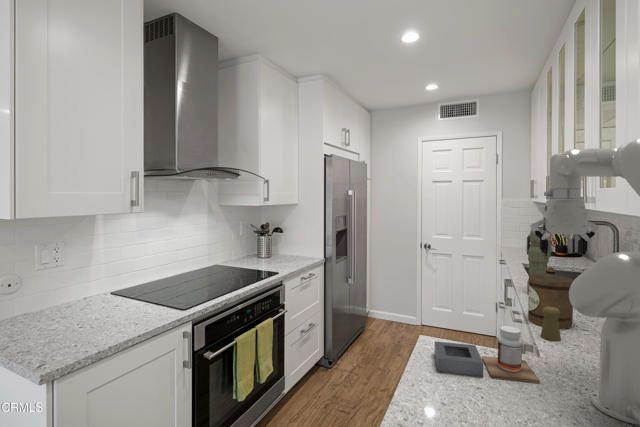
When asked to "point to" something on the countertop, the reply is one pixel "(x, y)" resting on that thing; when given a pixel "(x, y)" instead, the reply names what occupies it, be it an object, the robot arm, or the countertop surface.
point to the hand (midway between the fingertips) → (562, 253)
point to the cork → (551, 324)
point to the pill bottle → (510, 349)
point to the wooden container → (550, 297)
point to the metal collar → (458, 359)
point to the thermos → (537, 255)
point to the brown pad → (498, 373)
